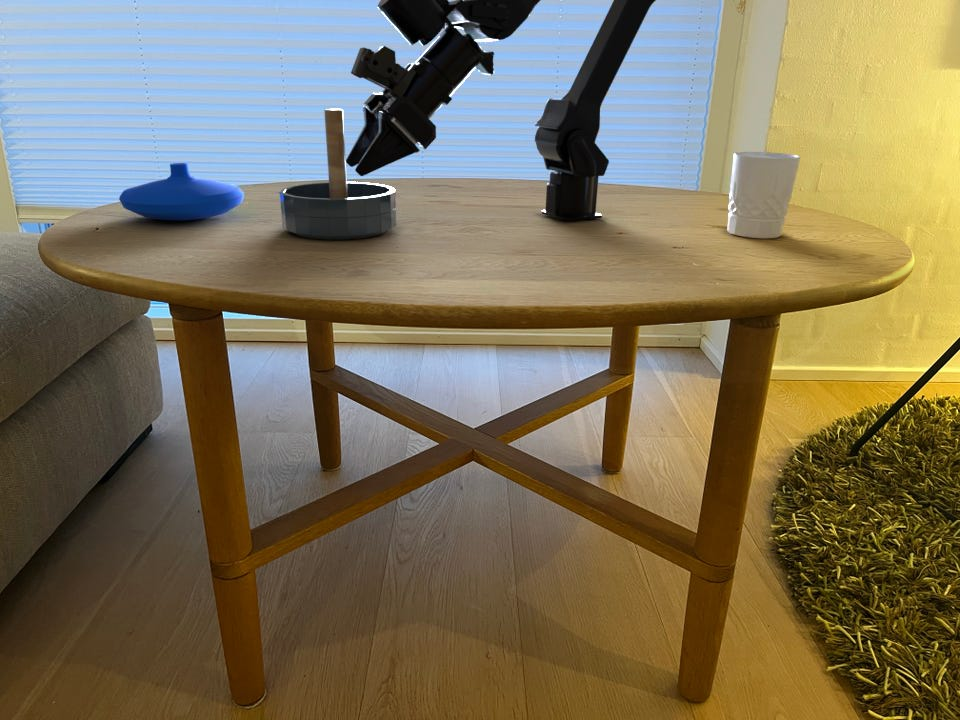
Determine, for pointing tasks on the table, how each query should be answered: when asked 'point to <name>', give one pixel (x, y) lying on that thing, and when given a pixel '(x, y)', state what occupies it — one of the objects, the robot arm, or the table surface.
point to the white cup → (760, 193)
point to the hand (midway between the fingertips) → (352, 168)
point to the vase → (181, 197)
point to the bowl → (338, 211)
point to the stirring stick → (336, 153)
